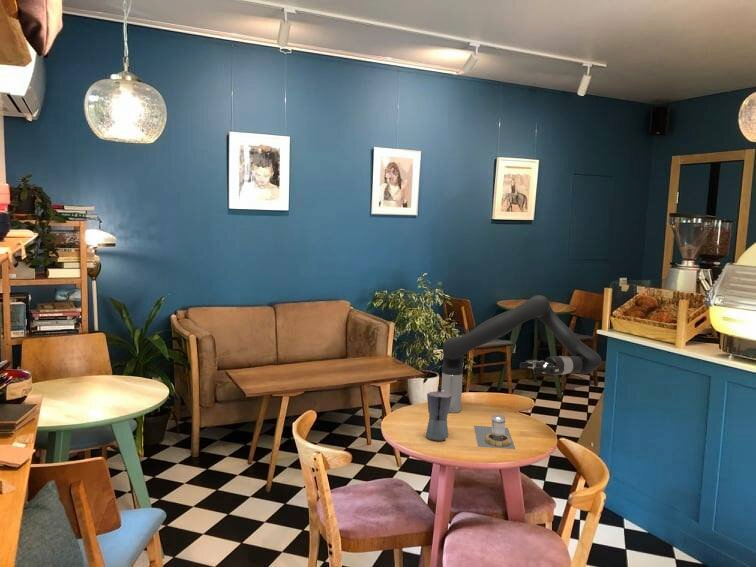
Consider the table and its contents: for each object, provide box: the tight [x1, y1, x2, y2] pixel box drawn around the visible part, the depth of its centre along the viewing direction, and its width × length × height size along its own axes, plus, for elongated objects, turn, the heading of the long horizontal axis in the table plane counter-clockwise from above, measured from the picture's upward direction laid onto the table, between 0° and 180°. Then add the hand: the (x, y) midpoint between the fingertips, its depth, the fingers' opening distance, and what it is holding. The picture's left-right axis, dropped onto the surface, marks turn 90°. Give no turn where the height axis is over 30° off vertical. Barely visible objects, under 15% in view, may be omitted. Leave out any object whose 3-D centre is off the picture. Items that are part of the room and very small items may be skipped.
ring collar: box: [485, 433, 512, 447], centre depth 227 cm, size 9×9×2 cm
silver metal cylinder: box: [491, 414, 506, 441], centre depth 227 cm, size 5×5×10 cm
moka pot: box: [425, 386, 451, 441], centre depth 231 cm, size 10×15×20 cm, turn 179°
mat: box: [473, 425, 516, 450], centre depth 233 cm, size 14×24×1 cm, turn 174°
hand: (527, 368), depth 236 cm, fingers open, 8 cm apart
